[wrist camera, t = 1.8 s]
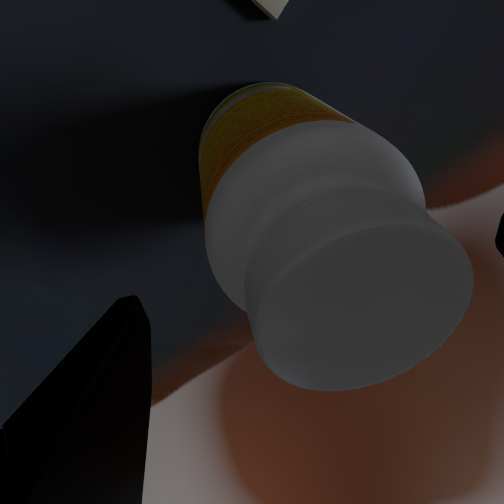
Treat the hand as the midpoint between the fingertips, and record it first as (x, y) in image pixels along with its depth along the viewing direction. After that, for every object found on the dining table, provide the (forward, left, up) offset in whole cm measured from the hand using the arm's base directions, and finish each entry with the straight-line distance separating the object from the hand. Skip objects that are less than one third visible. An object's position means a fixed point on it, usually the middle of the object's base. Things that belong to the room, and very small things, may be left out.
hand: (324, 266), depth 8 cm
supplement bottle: (0, 0, -8) cm, 8 cm away
